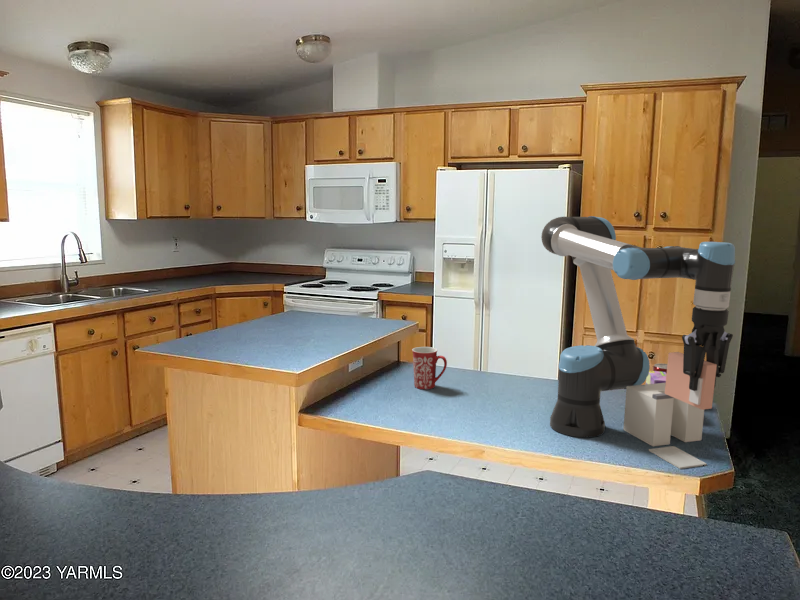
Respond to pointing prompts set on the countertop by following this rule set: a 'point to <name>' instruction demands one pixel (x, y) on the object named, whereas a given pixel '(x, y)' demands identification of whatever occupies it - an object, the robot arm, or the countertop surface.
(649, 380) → the box
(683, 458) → the mat
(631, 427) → the dispenser
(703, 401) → the salmon pink slab
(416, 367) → the mug
